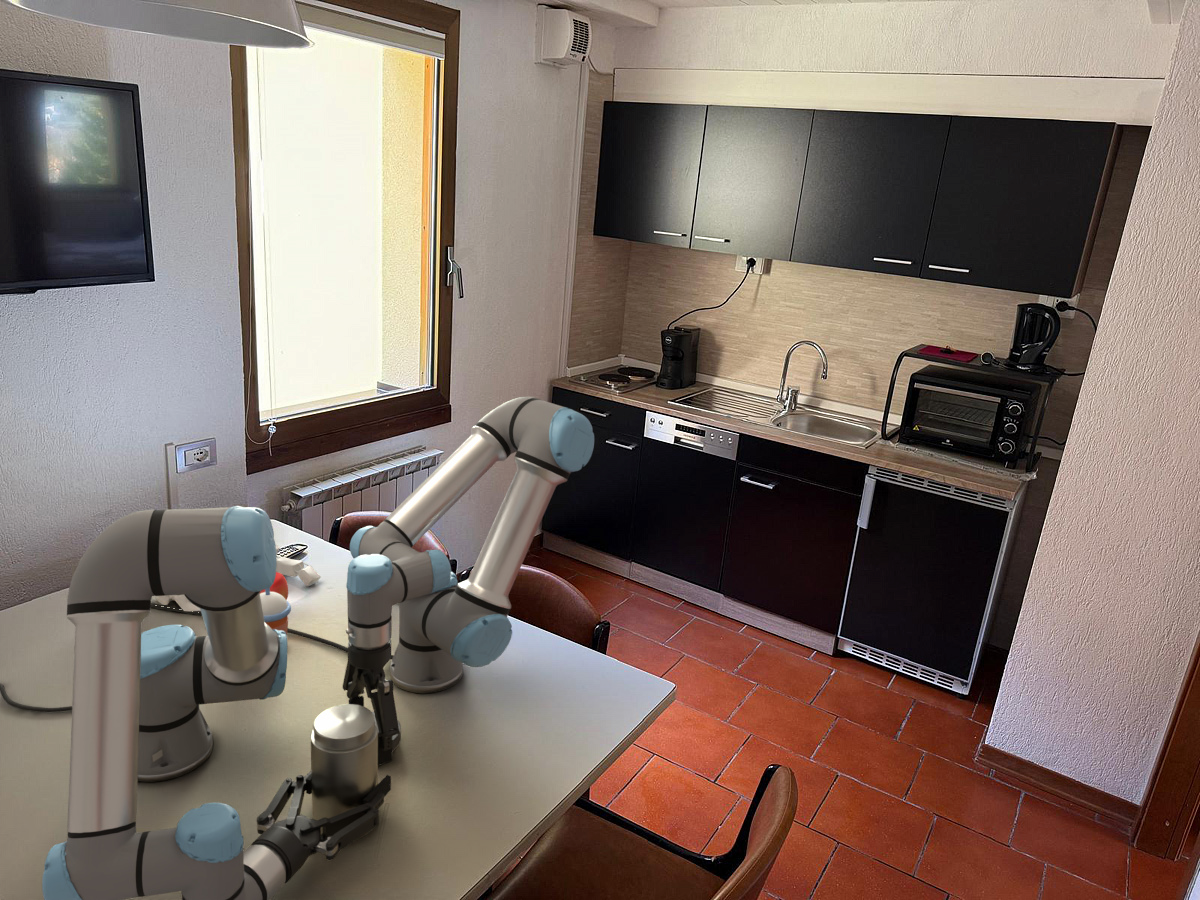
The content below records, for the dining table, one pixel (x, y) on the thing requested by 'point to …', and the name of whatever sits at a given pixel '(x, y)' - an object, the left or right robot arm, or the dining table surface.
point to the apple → (279, 586)
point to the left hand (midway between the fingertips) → (360, 772)
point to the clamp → (296, 569)
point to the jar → (343, 759)
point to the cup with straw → (275, 610)
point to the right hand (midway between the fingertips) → (369, 744)
